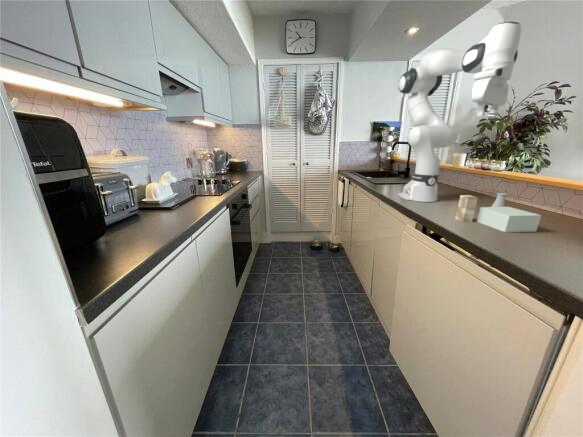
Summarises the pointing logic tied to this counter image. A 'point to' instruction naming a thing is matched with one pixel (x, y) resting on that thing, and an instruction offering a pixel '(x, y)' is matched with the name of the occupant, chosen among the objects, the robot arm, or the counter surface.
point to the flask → (499, 200)
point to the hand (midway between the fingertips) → (485, 117)
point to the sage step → (509, 219)
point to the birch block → (466, 208)
